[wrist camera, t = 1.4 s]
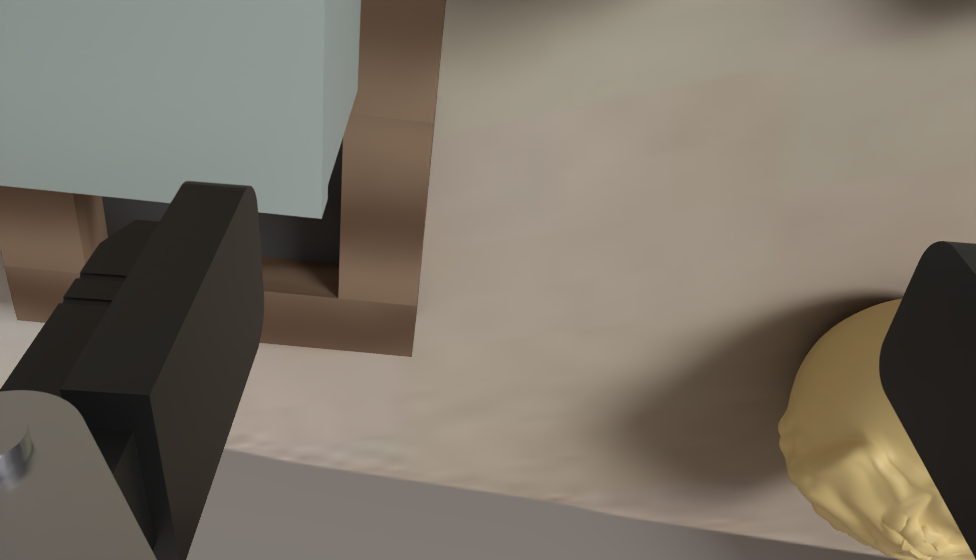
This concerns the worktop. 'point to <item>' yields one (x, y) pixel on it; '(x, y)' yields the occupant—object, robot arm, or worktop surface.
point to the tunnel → (177, 96)
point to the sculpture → (863, 448)
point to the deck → (292, 239)
